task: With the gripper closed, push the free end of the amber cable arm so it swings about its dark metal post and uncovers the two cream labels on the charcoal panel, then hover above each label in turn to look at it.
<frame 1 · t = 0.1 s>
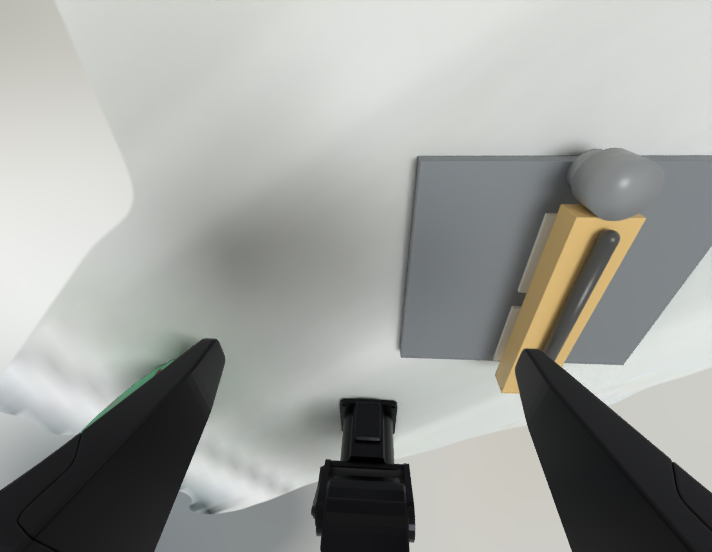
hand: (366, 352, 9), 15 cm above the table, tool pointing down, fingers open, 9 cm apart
mug: (185, 364, 34), on the table
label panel: (535, 274, 25), on the table
cable arm: (562, 302, 21), point 4 cm above the table, hinge at 0.0°
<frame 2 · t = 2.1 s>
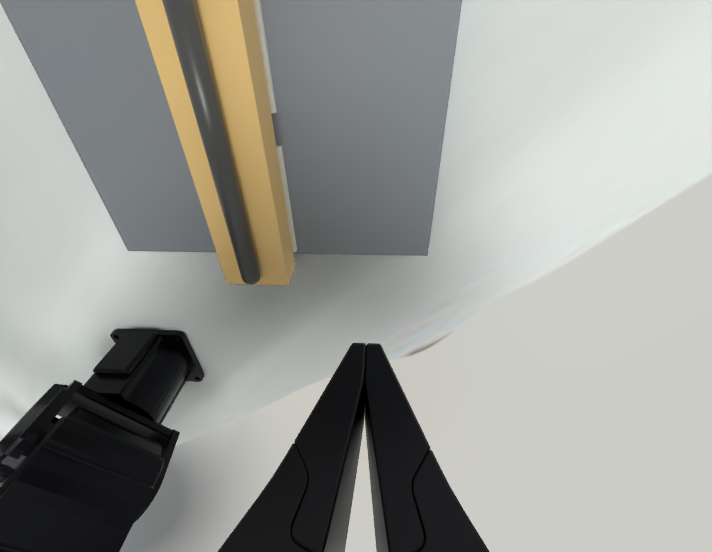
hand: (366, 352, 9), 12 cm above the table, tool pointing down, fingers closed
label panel: (250, 93, 16), on the table
cable arm: (214, 90, 13), point 4 cm above the table, hinge at 0.0°
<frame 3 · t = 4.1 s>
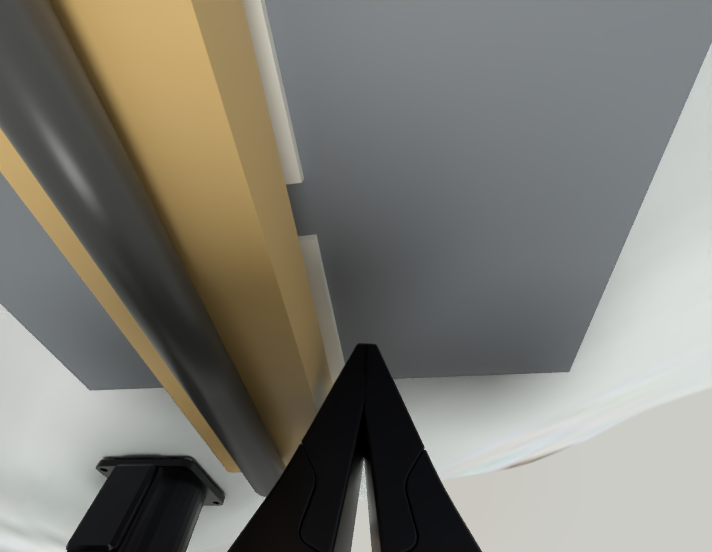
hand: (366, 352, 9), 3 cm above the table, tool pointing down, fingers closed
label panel: (249, 144, 9), on the table
cable arm: (147, 174, 5), point 4 cm above the table, hinge at 1.3°, touching gripper
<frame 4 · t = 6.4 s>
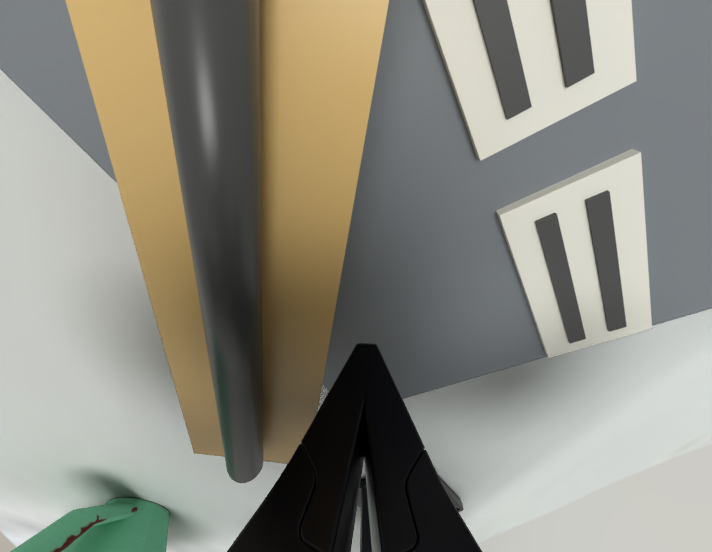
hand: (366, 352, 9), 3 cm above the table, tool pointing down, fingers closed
mug: (128, 494, 25), on the table
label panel: (518, 85, 8), on the table
cable arm: (245, 146, 5), point 4 cm above the table, hinge at 39.9°, touching gripper
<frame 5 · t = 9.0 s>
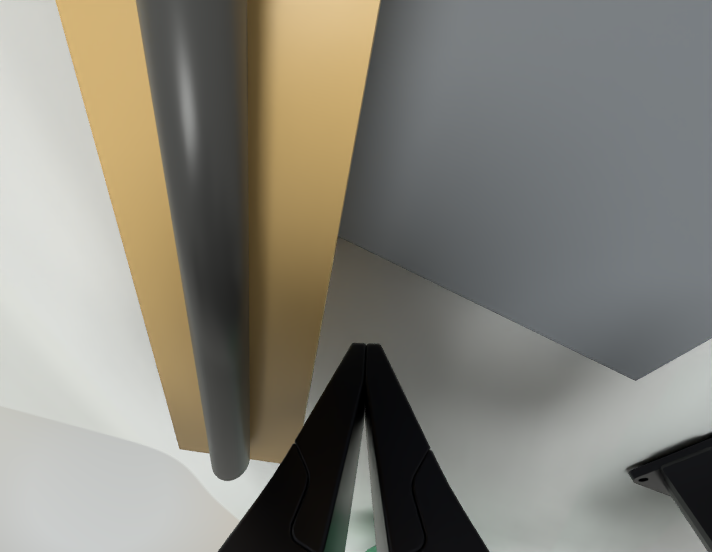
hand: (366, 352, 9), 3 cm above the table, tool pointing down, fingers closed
cable arm: (234, 131, 5), point 4 cm above the table, hinge at 73.2°
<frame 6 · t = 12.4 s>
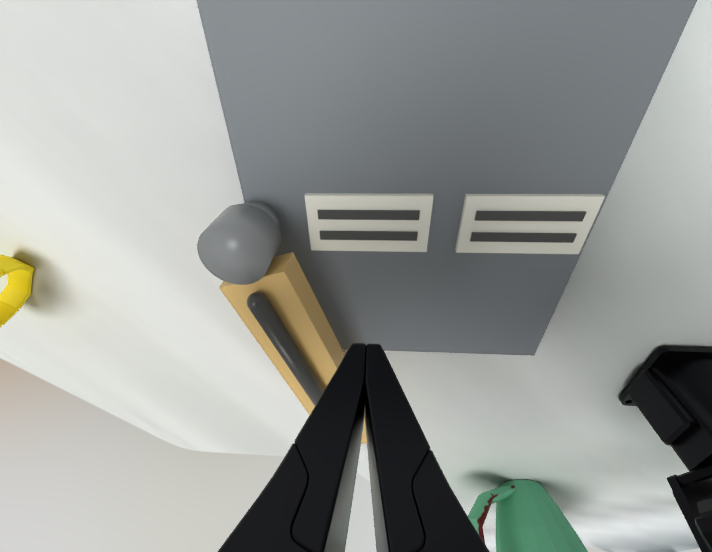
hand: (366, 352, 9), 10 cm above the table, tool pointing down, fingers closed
mug: (503, 480, 36), on the table
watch: (25, 274, 22), on the table
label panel: (413, 213, 18), on the table
cable arm: (305, 357, 19), point 4 cm above the table, hinge at 73.2°
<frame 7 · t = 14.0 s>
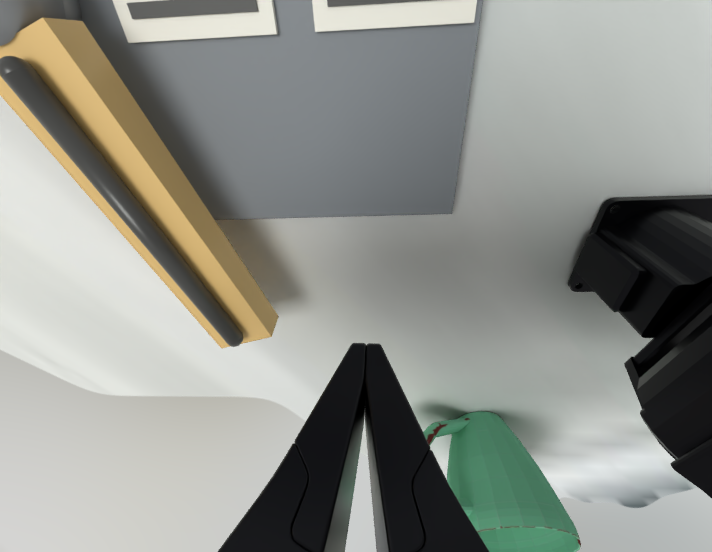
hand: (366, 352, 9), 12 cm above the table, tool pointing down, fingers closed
mug: (458, 415, 32), on the table
cable arm: (143, 201, 15), point 4 cm above the table, hinge at 73.2°
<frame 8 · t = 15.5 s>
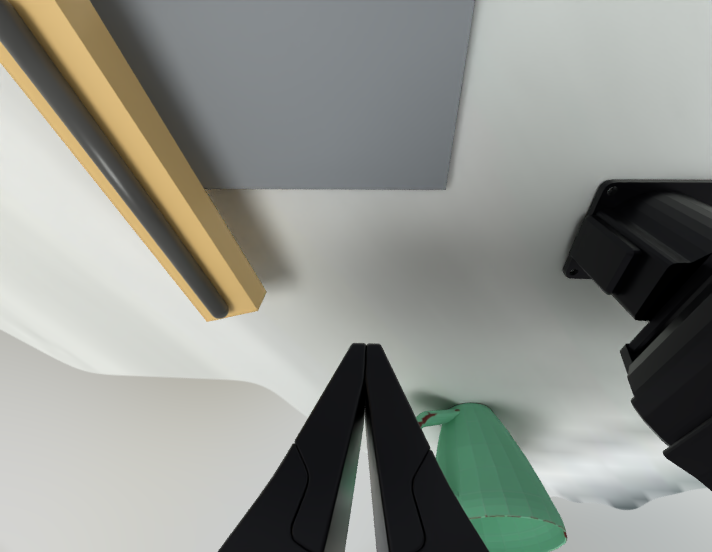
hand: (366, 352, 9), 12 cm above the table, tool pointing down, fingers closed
mug: (449, 406, 32), on the table
cable arm: (128, 160, 14), point 4 cm above the table, hinge at 73.2°
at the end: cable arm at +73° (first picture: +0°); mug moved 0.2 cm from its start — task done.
